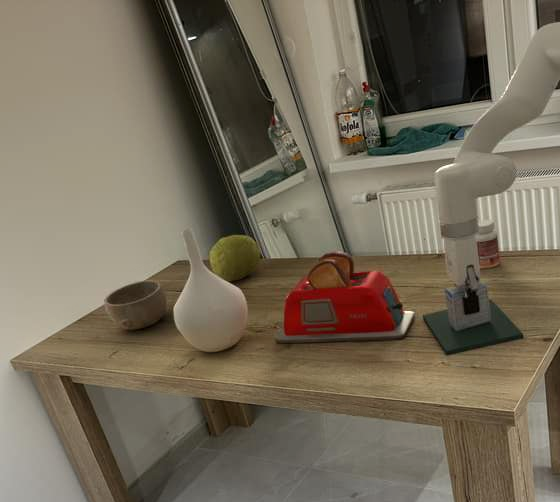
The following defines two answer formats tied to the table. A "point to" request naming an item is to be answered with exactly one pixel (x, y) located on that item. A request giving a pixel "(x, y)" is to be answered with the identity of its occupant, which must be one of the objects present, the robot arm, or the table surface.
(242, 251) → the fruit
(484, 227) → the pill bottle
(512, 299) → the table surface
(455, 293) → the medicine box
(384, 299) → the toaster
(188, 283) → the vase
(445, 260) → the robot arm
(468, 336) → the mat
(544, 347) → the table surface
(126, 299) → the bowl
